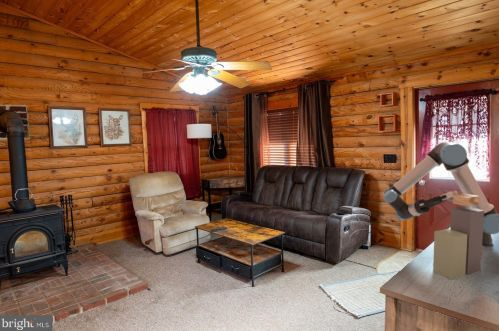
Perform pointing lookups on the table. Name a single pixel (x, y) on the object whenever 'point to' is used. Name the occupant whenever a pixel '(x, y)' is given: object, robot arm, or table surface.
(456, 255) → the low stand
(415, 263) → the table surface
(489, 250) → the table surface
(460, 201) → the handle block
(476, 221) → the tall stand
